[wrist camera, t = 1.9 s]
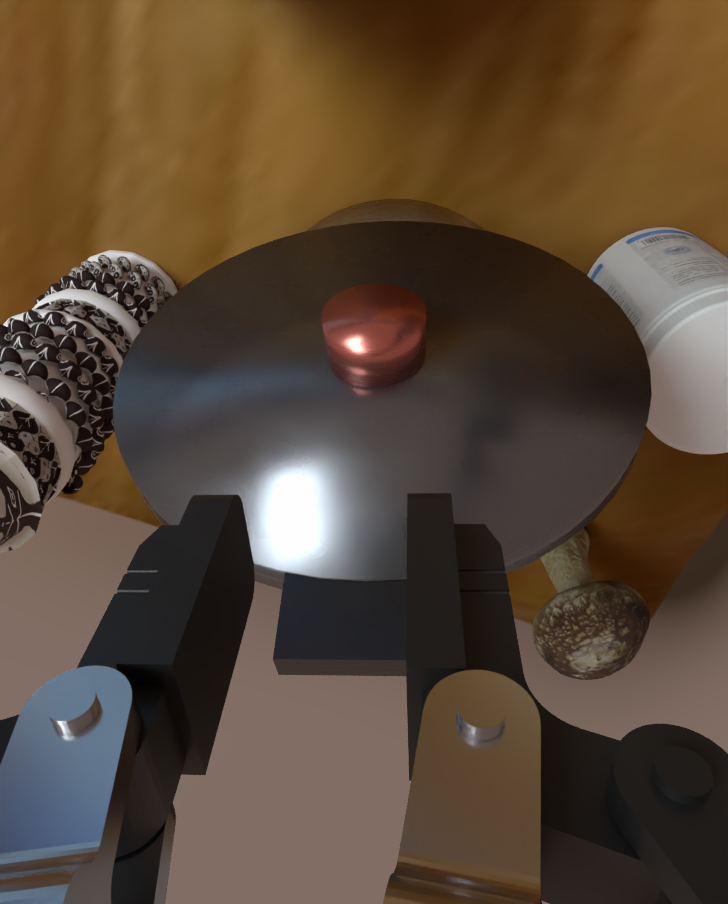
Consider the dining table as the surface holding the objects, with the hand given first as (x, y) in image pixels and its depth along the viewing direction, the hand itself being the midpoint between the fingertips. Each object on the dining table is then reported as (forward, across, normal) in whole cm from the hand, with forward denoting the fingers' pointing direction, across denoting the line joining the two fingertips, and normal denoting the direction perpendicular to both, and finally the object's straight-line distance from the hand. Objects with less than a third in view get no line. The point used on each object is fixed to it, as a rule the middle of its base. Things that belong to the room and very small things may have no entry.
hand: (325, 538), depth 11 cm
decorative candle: (+39, +20, +10) cm, 45 cm away
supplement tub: (+39, -18, +10) cm, 44 cm away
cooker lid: (+15, 0, +6) cm, 16 cm away
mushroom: (+39, -14, +31) cm, 52 cm away
